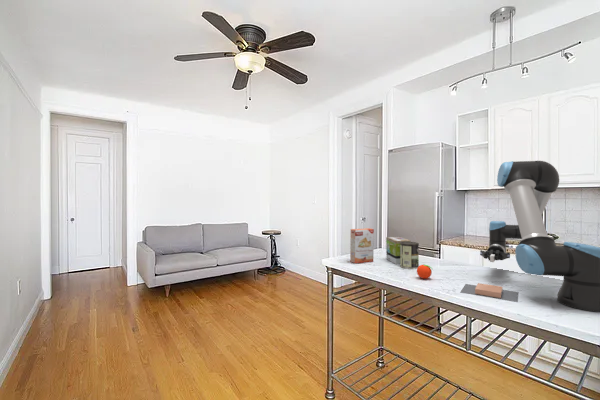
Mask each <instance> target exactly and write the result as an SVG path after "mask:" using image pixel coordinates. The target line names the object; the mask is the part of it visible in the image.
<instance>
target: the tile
mask: <svg viewBox="0 0 600 400" xmlns="http://www.w3.org/2000/svg"><path fill="white" fill-rule="evenodd" d="M503 290H504V288H503V286H501V285H500V286H499V285H495V284H494V285H493V284H488V283H487V284H486V283H479V282H478V283H477V284H476V288H475V294H479V295H485V296H491V297H497V298H501V296H502V292H503Z"/></svg>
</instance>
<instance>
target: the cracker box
mask: <svg viewBox="0 0 600 400" xmlns="http://www.w3.org/2000/svg"><path fill="white" fill-rule="evenodd" d="M374 238H375V229H374V228H371V227H370V228H367V227H366V228H365V227H364V228H351V229H350V243H349V244H350V246H349V247H350V248H349V249H350V251H349V252H350V255H349V256H350V258H349V259H350V263H353V264H364V262H365V263H373V262H374V252H375V251H374V247H375V245H374V244H375V243H374V242H375V241H374V240H375V239H374Z"/></svg>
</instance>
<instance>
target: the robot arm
mask: <svg viewBox="0 0 600 400" xmlns="http://www.w3.org/2000/svg"><path fill="white" fill-rule="evenodd" d="M496 176H497V179H496V182H497V186H498V187H500V188H504V192H506V193H507V194H509V195H510V198H511V203H512V206H513V211H514V216H515V218H516V221H517V224H507V223H506V221H502V220H492V221H490V222H489V229H488V232H489V233H488V234H489V241H488V245H489V246H488V248H487V250H482V249H480V253H479V254H480V256H481V257H483V258H484V259H485V260H486V259H487V260H488V262H490V263H495V261H504V260H507V259H510V258H511V253H510V252H507V245H506V243H507V241H506V240H508V239H509V240H520V241H519V242H518V245H516V246H515V249H514V250H515V252H514V253H515V259H516V260H515V261H516V262H517V266H519V268H520V270H521V271H522V272H524V273H525V274H527V275H528V274H529V275H535V276H550V277H551V276H553V277H563V281H562V283H561V286H560V288H559V291H558V293H557V295H556V296H557V297H556V298H557V302H558V303H560V304H562V305H564V306H567V307H570V308H574V309H577V310H582V311H583V310H584V311H589V312H594V313H595V312H598V313H600V246H596V245H591V244H586V243H580V242H573V241H564V242H563V244H562V245H557V244H556V241H555V239H554V238H553V236H552V237H551V236H549V235H548V232H547V230H546V226H545V222H544V219H543V216H542V215H543V213H544V211H545V209H546V207H547V204H548V202H549V200H550V198H551V196H552V194H553V193H555V192H556V191H557V189H558V188H559V185H560V175H559V173H558V170H557V169H556V167H555V166H554V165H552V164H551V163H550V162H547V161H545V160H525V161H524V160H522V161H517V160H516V161H505V162H503V163H501V164H500V166H499V169H498V172H497V175H496Z"/></svg>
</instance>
